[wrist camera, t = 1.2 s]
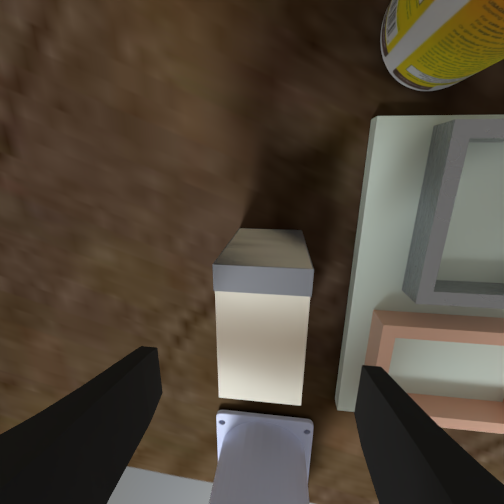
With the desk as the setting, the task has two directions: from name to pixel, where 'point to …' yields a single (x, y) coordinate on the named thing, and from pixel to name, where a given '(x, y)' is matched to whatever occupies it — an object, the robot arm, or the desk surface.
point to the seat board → (431, 268)
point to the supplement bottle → (441, 40)
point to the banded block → (263, 315)
